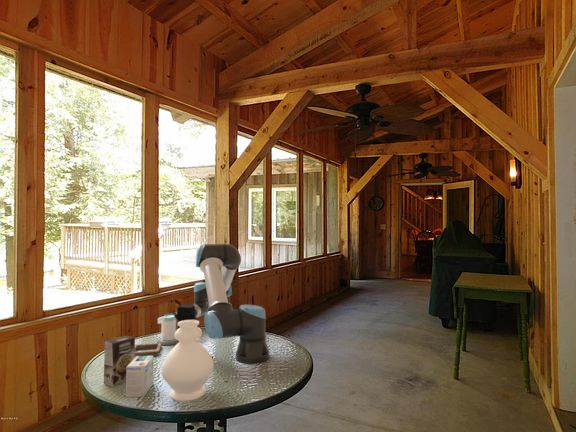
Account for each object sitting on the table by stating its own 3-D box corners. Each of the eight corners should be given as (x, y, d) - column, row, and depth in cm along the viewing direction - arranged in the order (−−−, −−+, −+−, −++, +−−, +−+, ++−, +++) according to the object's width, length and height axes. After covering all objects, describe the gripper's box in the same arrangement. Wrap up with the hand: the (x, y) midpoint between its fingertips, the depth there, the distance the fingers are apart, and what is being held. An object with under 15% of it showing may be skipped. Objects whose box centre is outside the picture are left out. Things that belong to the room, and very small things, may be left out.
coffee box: (113, 387, 136) (113, 343, 136) (103, 383, 139) (103, 340, 140) (135, 378, 144) (135, 337, 144) (125, 375, 147) (125, 334, 148)
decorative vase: (167, 383, 140) (168, 316, 140) (215, 381, 142) (215, 315, 142) (155, 406, 122) (156, 330, 123) (210, 403, 124) (211, 328, 125)
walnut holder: (158, 355, 169) (158, 351, 169) (129, 357, 167) (129, 353, 167) (161, 347, 181) (161, 343, 181) (134, 348, 179) (134, 344, 179)
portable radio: (197, 353, 173) (198, 299, 174) (192, 357, 167) (193, 302, 168) (181, 352, 174) (181, 299, 174) (176, 357, 168) (176, 301, 168)
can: (159, 342, 186) (160, 318, 186) (163, 337, 193) (163, 314, 193) (174, 341, 187) (174, 317, 187) (177, 337, 194) (177, 314, 194)
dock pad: (180, 344, 185) (180, 342, 185) (154, 346, 182) (154, 344, 182) (181, 337, 197) (181, 335, 197) (157, 339, 194) (157, 337, 194)
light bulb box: (135, 384, 139) (135, 355, 139) (153, 383, 140) (153, 354, 140) (125, 397, 128) (125, 366, 129) (145, 396, 129) (145, 365, 129)
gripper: (211, 321, 207) (190, 331, 187) (172, 317, 215) (148, 327, 194) (211, 307, 208) (190, 316, 187) (172, 304, 215) (149, 313, 195)
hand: (169, 322), depth 191 cm, fingers open, 13 cm apart
